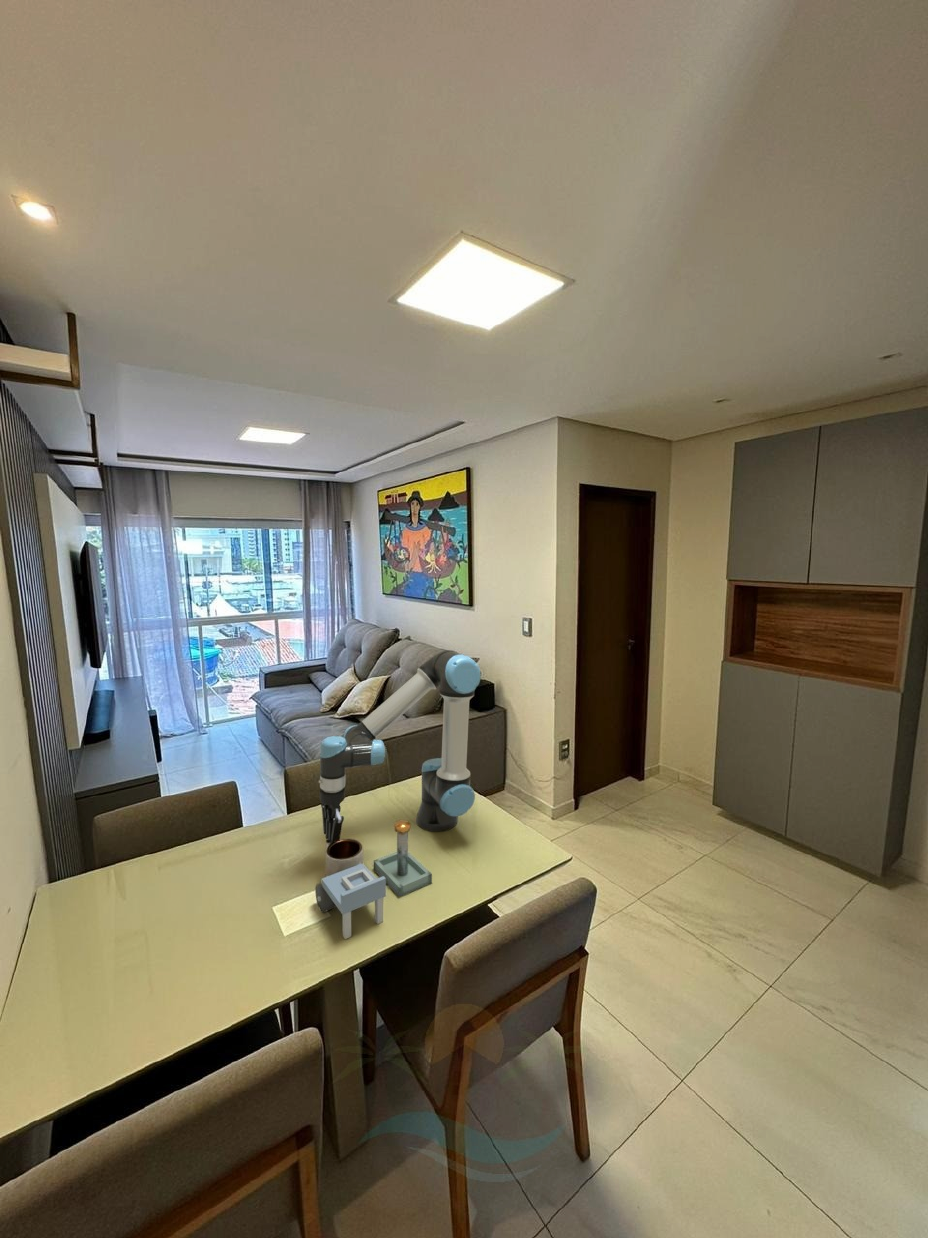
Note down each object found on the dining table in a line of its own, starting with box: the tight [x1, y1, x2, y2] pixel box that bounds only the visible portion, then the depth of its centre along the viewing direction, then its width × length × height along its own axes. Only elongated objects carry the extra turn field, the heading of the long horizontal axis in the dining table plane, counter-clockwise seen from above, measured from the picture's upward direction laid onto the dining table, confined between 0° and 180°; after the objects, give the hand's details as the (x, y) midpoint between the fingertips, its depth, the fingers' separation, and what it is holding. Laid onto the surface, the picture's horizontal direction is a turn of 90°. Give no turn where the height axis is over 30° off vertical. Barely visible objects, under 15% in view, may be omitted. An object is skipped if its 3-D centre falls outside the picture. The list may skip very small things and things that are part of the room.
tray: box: [373, 851, 433, 898], centre depth 149 cm, size 16×11×3 cm
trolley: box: [314, 862, 387, 940], centre depth 133 cm, size 18×14×12 cm
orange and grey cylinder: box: [394, 819, 411, 876], centre depth 148 cm, size 5×5×16 cm
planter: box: [325, 838, 364, 877], centre depth 147 cm, size 11×11×10 cm
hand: (331, 859), depth 154 cm, fingers closed
